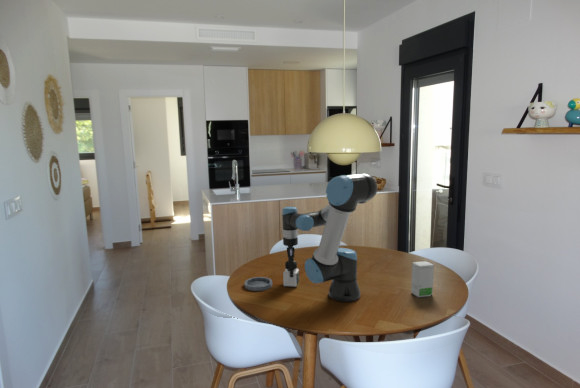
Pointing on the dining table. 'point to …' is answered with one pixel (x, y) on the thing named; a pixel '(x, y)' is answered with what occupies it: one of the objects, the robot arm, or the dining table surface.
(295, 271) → the medicine bottle
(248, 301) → the dining table surface
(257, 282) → the dish
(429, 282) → the skincare box
